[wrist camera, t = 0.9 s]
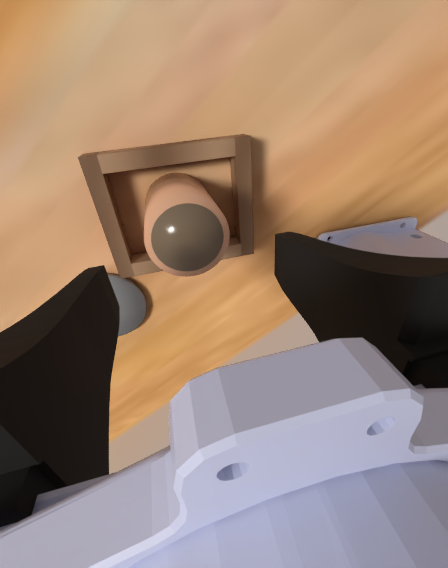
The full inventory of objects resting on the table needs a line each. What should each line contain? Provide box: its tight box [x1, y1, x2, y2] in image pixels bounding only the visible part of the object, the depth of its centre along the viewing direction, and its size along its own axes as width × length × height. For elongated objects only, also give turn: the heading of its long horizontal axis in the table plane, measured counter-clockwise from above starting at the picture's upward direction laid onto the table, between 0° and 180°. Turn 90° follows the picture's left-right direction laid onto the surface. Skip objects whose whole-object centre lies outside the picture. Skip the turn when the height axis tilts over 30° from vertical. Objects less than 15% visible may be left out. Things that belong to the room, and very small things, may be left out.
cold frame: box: [78, 134, 254, 279], centre depth 19 cm, size 10×8×2 cm
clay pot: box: [144, 173, 230, 276], centre depth 17 cm, size 4×4×6 cm
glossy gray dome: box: [107, 273, 146, 336], centre depth 22 cm, size 6×6×1 cm
